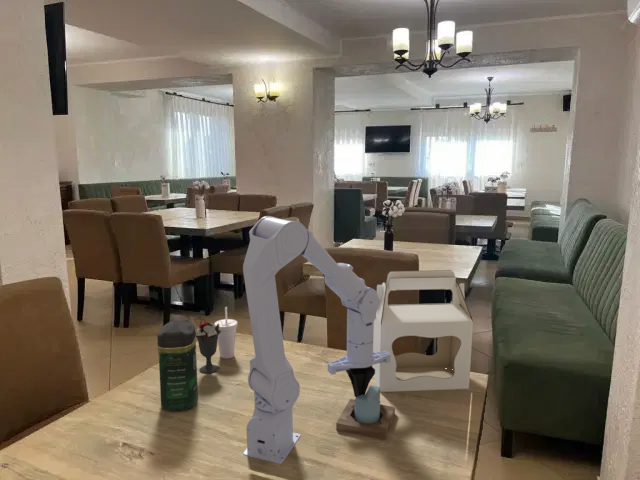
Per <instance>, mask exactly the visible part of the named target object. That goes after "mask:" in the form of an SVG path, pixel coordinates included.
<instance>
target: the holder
mask: <svg viewBox="0 0 640 480" xmlns="http://www.w3.org/2000/svg"><path fill="white" fill-rule="evenodd" d="M395 415H396V407H395V406H392V405H391V406H390V405H387V404H381V403H380V421H379V422H375V423H372V424H365V423H360V422H356V421H355V399H353V398H350V399H348V401H347V403H346V405H345V407H344V409H343V410H342V413H341V414H340V416H339V418H338V419H337V421H336V423H335V426H336V427H335V430H336V431H339V432H344V433H350V434H354V435H359V436H363V437H368V438H371V439H372V438H373V439H379V440H383V441H386V438H387V436H388V433H389V430H390V428H391V425H392V423H393V420H394V416H395Z"/></svg>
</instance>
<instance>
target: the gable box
mask: <svg viewBox="0 0 640 480" xmlns="http://www.w3.org/2000/svg"><path fill="white" fill-rule="evenodd" d="M456 279H457V276H456V274H455V271H453V270H451V269H450V270H449V269H447V270H444V269H443V270H437V269H436V270H434V269H433V270H395V271H394V270H392V271H389V272H388V273H387V276H386V280H385V282H382V283H377V284H376V289H375V291H376V292H377V294H378V297H379V299H381V301H380V306H379V308H378V310H377V312H376V319H375V321H374V338H373V352H384V351H386V352H388V353H389V354H391V358H390V363H385V362H383V363H378V364H374V365H372V367H373V368H374V369H375V374H374V376H373V377H372V378H373V379H374V382H375V386H377V387H380V393H385V392H386V393H387V392H413V391H439V390H442V391H443V390H446V391H447V390H470V380H471V379H470V376H471V360H472V347H473V334H474V333H473V332H474V331H473V329H474V320H473V318H472V315H471V312H470V309H469V307H468V305H467V302H466V299H465V298H466V297H465V282H459V283H458V282H457V281H456ZM413 290H416V291H417V290H418V291H420V290H450V291H451V303H449V302H447V303H414V304H413V303H411V304H406V303H405V304H388V303H389V294H390V292H391V291H394V292H395V291H413ZM409 336H413V337H414V336H415V337H422V338H428V339H429V338H431V339H435V338H436V346H437V347H436V348H437V349H436V353H434V354H432V355H431V354H429V355H427V354H424V353H419V352H405V353H404V352H403V353H401V354H397V355H395V354H394V351H393V343H394V341H396V339H398V338H401V337H409ZM445 368H447V369H445ZM452 369H453V370H452Z"/></svg>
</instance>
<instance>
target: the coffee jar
mask: <svg viewBox="0 0 640 480" xmlns="http://www.w3.org/2000/svg"><path fill="white" fill-rule="evenodd" d="M195 332H196V326H195V324H194V323H192V321H189V320H188V319H176V320H175V319H173V320H170V321H168V322H167V323H165V324H164V325H163V326H162V327H161V328H160V330H159V331H158V333H157V337H156V338H157V353H158V367H159V387H160V388H159V389H160V407H161V408H162V409H163V410H164V411H170V412H181V411H184V410H187V409H190V408H192V407H194V406H195V405H196V402H197V399H198V394H199V390H198V389H199V388H198V366H197V341H196V340H197V338H196V336H195Z"/></svg>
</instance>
